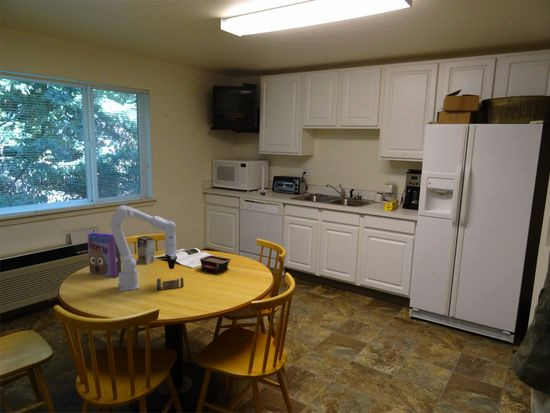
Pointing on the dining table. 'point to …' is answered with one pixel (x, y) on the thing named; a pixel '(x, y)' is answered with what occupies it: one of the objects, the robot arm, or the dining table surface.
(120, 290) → the robot arm
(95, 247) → the cereal box
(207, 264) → the dark rectangular container
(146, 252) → the coffee box
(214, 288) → the dining table surface
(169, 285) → the brown wooden block
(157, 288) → the gate posts
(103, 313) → the dining table surface
